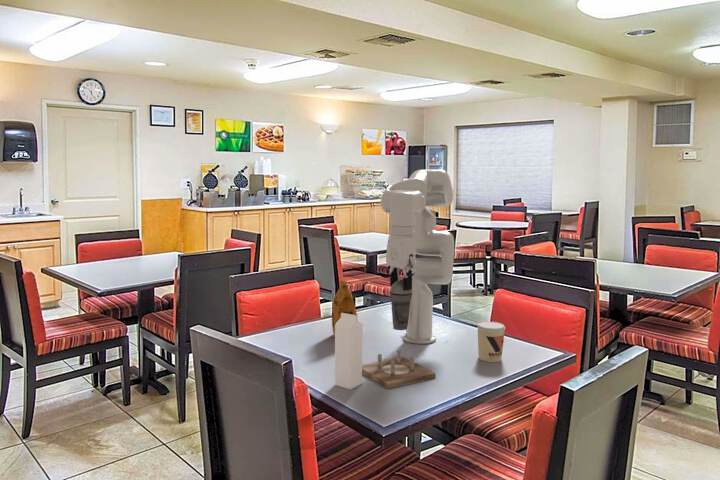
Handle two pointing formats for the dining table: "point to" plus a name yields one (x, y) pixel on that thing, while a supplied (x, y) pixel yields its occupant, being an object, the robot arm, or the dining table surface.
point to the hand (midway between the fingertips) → (400, 287)
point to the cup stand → (396, 371)
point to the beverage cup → (400, 304)
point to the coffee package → (342, 303)
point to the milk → (348, 351)
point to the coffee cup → (490, 341)
